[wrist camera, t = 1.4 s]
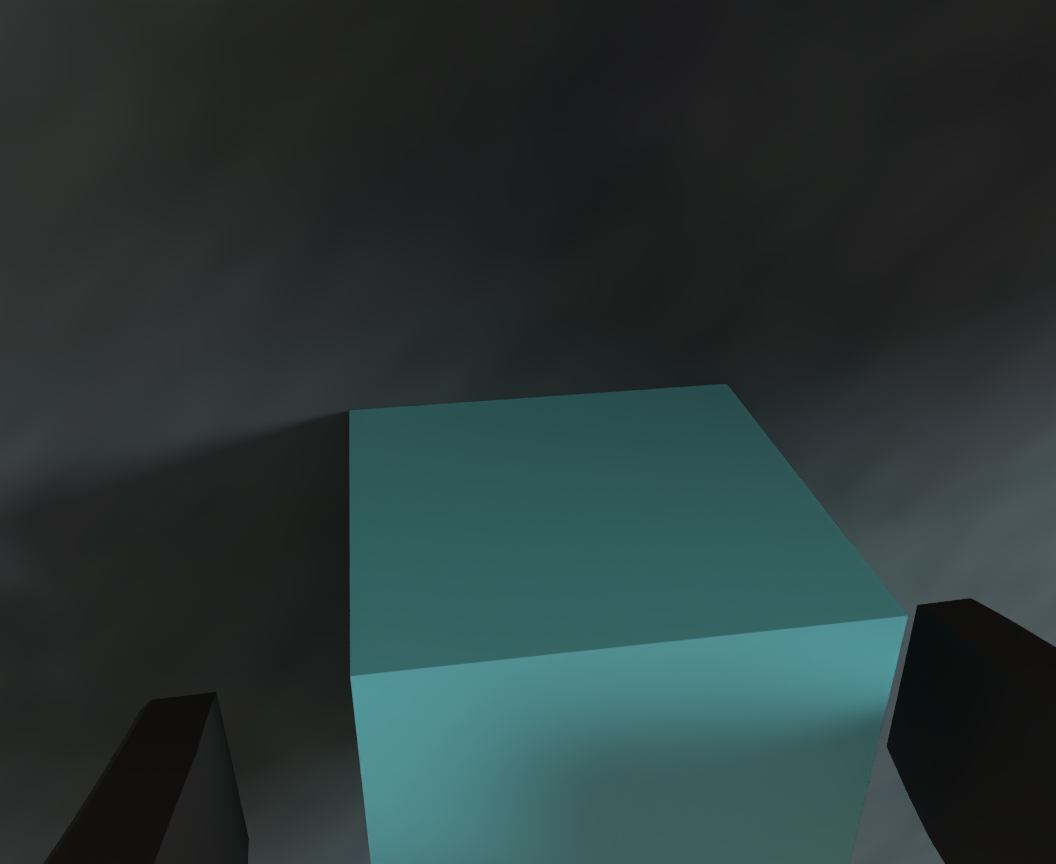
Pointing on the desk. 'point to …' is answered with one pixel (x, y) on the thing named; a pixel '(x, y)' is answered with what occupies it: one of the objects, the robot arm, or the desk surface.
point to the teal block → (606, 637)
